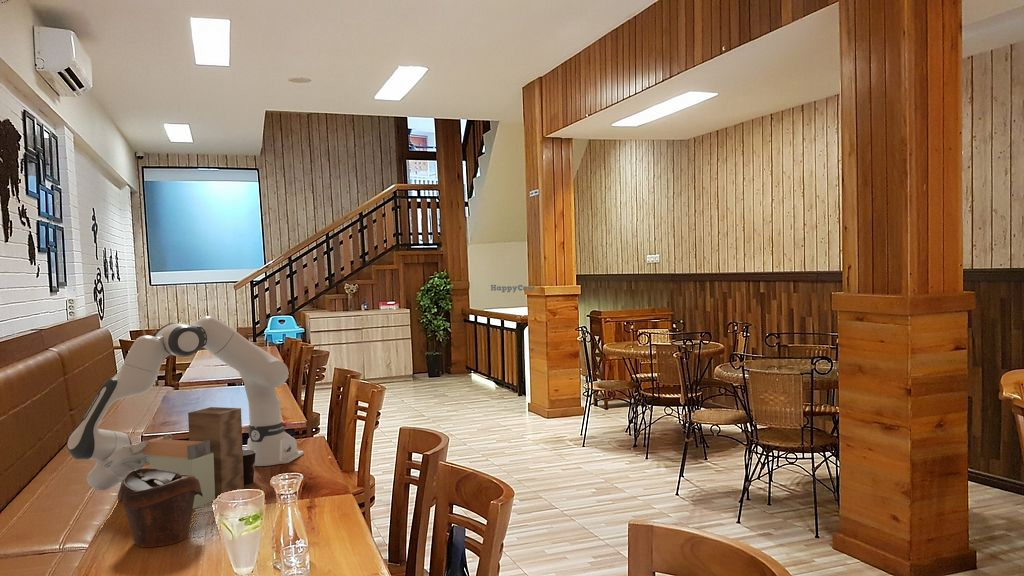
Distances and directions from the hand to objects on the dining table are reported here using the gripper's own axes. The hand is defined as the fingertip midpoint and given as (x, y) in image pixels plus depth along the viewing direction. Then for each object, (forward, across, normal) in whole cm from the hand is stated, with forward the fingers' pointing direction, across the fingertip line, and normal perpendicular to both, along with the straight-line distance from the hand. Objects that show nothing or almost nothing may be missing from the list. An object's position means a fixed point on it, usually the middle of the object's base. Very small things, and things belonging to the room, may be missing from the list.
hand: (158, 439), depth 223 cm
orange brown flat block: (+3, 0, +7) cm, 7 cm away
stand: (0, +12, +22) cm, 25 cm away
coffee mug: (+1, +24, +23) cm, 33 cm away
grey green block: (-2, 0, +21) cm, 21 cm away
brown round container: (+14, -27, +30) cm, 43 cm away
